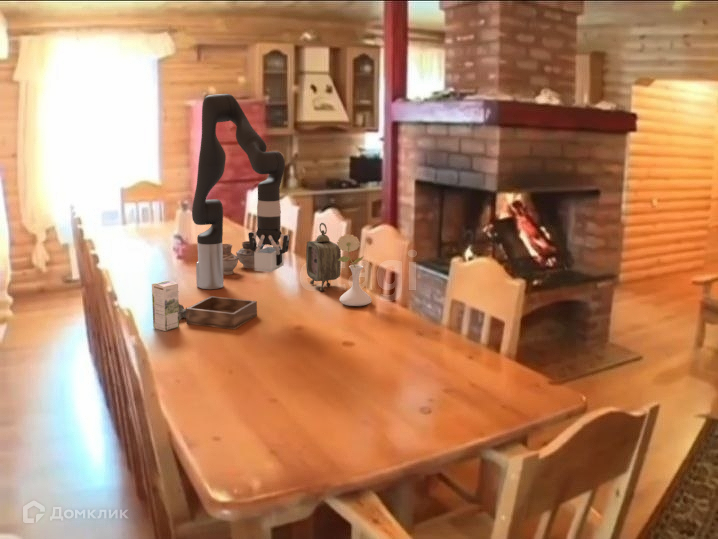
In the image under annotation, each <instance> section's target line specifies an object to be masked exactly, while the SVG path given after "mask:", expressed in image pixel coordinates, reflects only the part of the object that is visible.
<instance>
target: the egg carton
mask: <svg viewBox="0 0 718 539" xmlns="http://www.w3.org/2000/svg"><path fill="white" fill-rule="evenodd" d="M186 308H188V307H185V308H184V305H183V304H181V303H179V321H181V320H182V319H186Z"/></svg>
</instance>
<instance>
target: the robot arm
mask: <svg viewBox="0 0 718 539" xmlns="http://www.w3.org/2000/svg"><path fill="white" fill-rule="evenodd" d="M201 109H202V110H201V140H200V150H199V155H198V165H197V176H196V177H197V178H196V179H197V180H196V186H195V192H194V196H193V201H192V206H191V208H192V209H191V219H192V221H193V223H194V224H195V225H197V226H204V225H205V226H207V225H208V226H209V225H211V226H210V227H209V228H208V229H207V230H205V231H204V232H203V231H202V232H200V233H199V234H198V235H197V239H196V240H197V242H196V243H197V261H196V262H195V275H196V287H197V288H199V289H202V290H216V289H217V290H218V289H222V288H224V275H223V244H224V243H223V235H224V232H223V229H224V228H223V227H224V226H223V225H224V208H223V203H222V201H221V200H220V199H216V198H215V199H207V197H208V196H209V193H210V192H211V190H212V189H213V187H215V186H216V184H217V183H219V181H220V180H221V178H222V177H223V174H224V173H225V166H226V160H227V159H226V158H227V156H226V152H225V150H224V148H223V146H222V144H221V143H220V141H219V138H218V136H217V130H216V129H217V124H218V123H224V122H225V123H226V122H232V123H233V124H234V125H235V126H236V127H235V139H236V141H237V144H238V145H239V146H240V148H241V149H242V150H243V152H244V153H245V154H246V156H247V158H248V161H249V163H250V166H251V168H252V169H253V172H255V173H257V174H259V175H267V178H266V179H265V180H263V181H261V182H260V181H259V183H258V184H257V207H256V210H257V211H256V221H257V222H256V223H257V224H256V227H257V230H256V231H249V233H247V234H248V235H247V236H248V241H249V242H250V249H251V250H253V251H255V252H256V251H258V250H261V249H263V248H265V246H267V245H268V246H271V247H273V248H274V249H275V251H276V253H277V255H276V265H277V266H279V265H280V264H281V263H282V254H283V253H284V254H285V253H287V252H288V251H289V245H290V239H291V236H290V234H284V233H282V230H281V227H282V226H281V223H282V222H281V219H282V218H281V213H282V212H281V201H280V197H281V196H280V194H281V192H280V189H281V188H280V187H281V184H282V181H283V180H282V179H283V175H284V172H285V166H286V162H285V158H284V155H283V154H282V152H279V151H275V150H274V151H267V143H266V142H265V140H264V139H263V138H262V136H260V134H258V133H257V131H256V130H255V129H254V127H252V125H251V123H250V122H249V119H248V118H247V116H246V114H245V111H243V109H242V108H241V105H240V103H239V102H238V101H237V99H236V98H235V97H234V95H232V94H230V93H219V94H217V93H216V94H209V95H207V96H205V97H204V98H203V102H202V106H201ZM257 239H259V241H258V243H257V245H256V242H257ZM280 239H281V241H282V246H281V242H280Z"/></svg>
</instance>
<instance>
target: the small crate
mask: <svg viewBox="0 0 718 539" xmlns="http://www.w3.org/2000/svg"><path fill="white" fill-rule="evenodd" d="M276 255H277V253H276V251H275V249H274V248H273V246H264V247H263V249H261V250H258V251H256V252H254V265H255V268H254V271H255V272H265V273H273V272H275V271H277V270H278V269H280V268H281V267H284V265H285V264H284V263H285V262H284V258H285V257H284V255H285V253H283V254H282V263H281V264H280V265H279V266H277V265H276Z"/></svg>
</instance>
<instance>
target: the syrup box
mask: <svg viewBox="0 0 718 539" xmlns="http://www.w3.org/2000/svg"><path fill="white" fill-rule="evenodd" d="M151 297H152V298H151V300H152V318H153V319H152V326H153V329H156V330H158V331H164V332H167V331H170V330H171V331H172V330H173V329H178V328H180V320H179V304H180V302H179V283H177V282H175V281H171V280H163V281H159V282H155V283H152V284H151Z"/></svg>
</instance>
